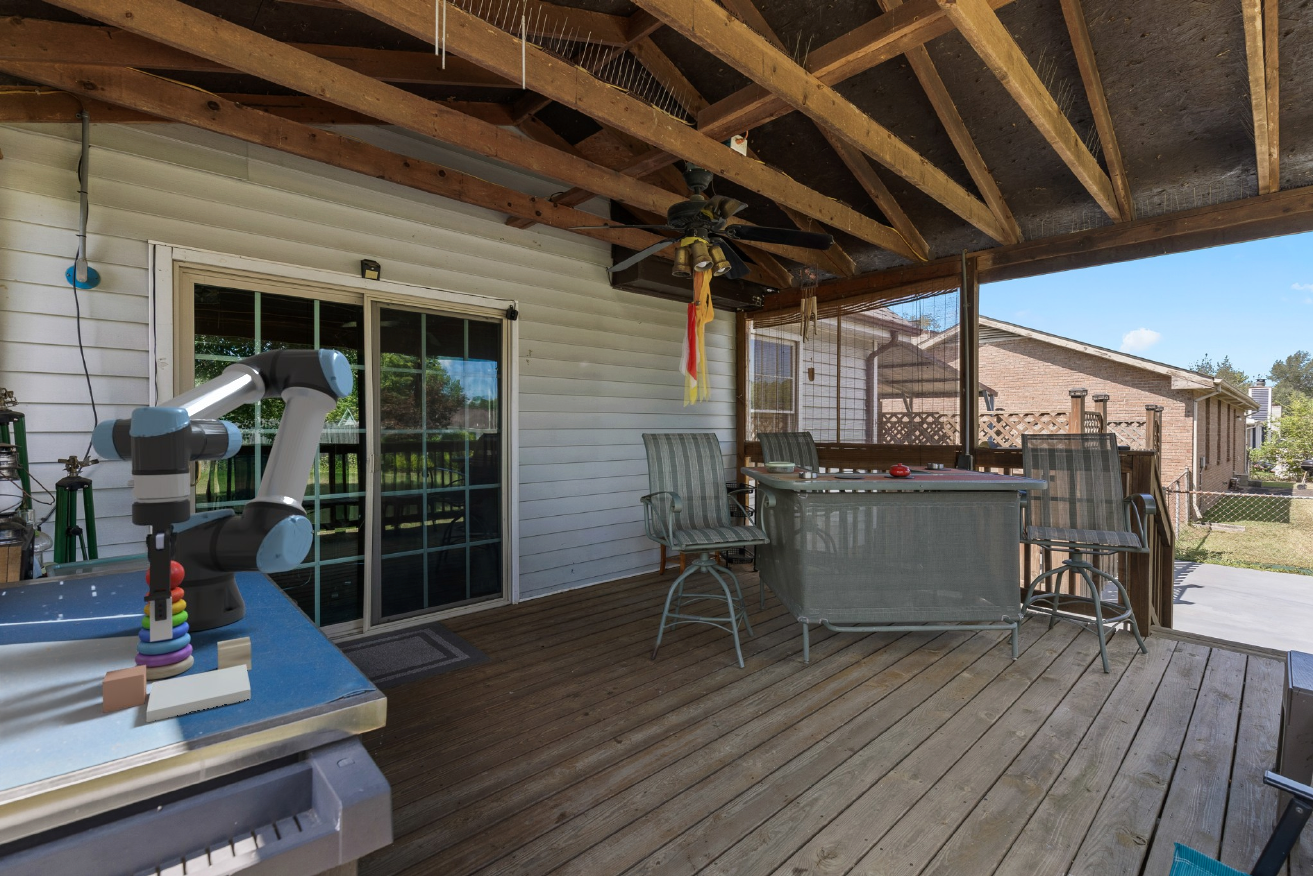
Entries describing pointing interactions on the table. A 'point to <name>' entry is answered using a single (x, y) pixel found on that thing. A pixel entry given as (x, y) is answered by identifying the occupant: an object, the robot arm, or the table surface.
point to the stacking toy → (166, 653)
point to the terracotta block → (124, 688)
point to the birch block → (234, 653)
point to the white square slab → (198, 692)
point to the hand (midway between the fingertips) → (163, 629)
